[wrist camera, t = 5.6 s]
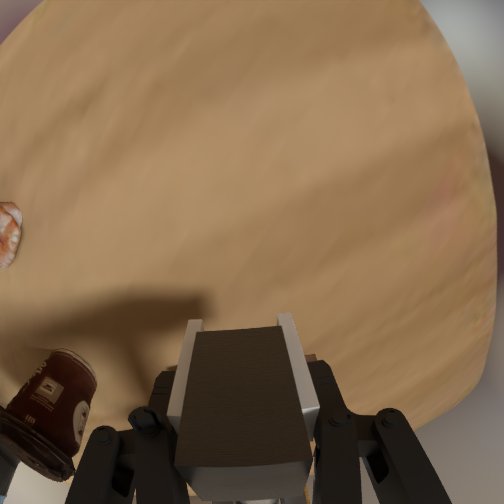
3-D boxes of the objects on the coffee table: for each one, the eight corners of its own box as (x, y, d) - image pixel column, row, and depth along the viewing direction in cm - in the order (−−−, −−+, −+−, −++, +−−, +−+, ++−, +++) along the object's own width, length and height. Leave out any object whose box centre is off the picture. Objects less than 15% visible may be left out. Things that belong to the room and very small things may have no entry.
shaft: (240, 488, 20) (243, 542, 14) (196, 331, 12) (173, 465, 6) (279, 485, 20) (286, 539, 14) (281, 325, 12) (313, 458, 6)
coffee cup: (121, 379, 23) (82, 486, 11) (95, 405, 25) (63, 490, 13) (53, 326, 21) (-14, 418, 9) (38, 362, 23) (-10, 438, 10)
